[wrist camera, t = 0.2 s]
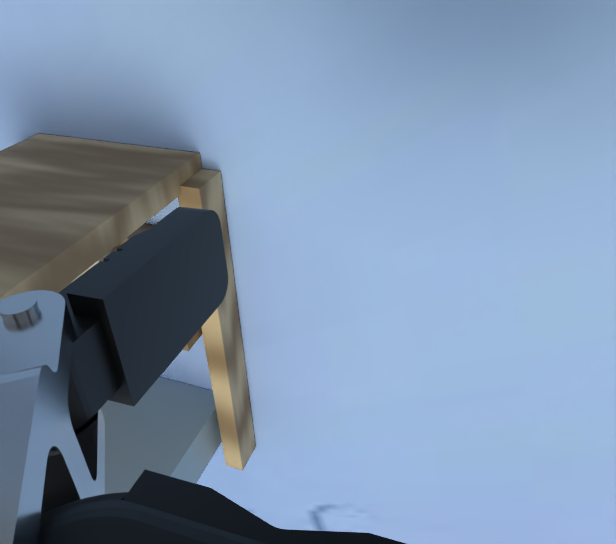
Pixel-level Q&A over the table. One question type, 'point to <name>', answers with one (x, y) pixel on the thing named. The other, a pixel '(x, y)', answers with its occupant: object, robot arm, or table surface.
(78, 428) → the robot arm
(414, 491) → the table surface
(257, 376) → the table surface
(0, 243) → the frame
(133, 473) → the upright blue-grey block
